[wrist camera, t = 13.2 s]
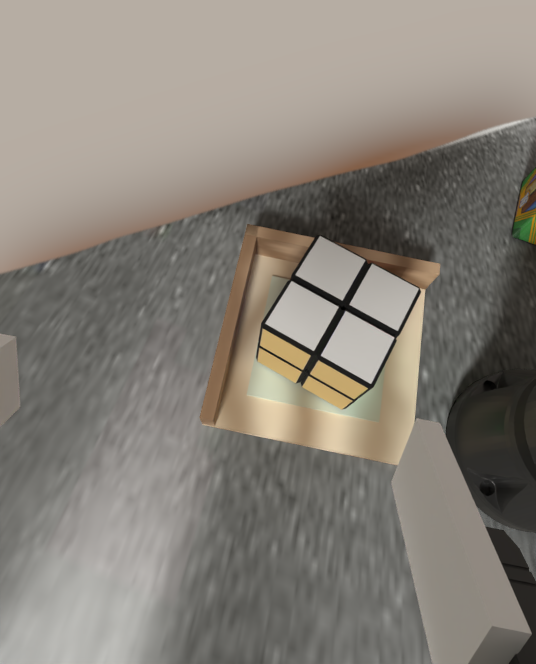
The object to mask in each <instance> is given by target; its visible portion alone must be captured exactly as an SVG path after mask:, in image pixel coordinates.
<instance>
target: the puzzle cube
mask: <svg viewBox="0 0 536 664" xmlns="http://www.w3.org/2000/svg"><path fill="white" fill-rule="evenodd" d="M420 294H421V290H420V288H419V287H418V286H416V285H414V284H412V283H410V282H408V281H406V280H405V279H403V278H401V277H399V276H397V275H395V274H393V273H391V272H390V271H388V270H386V269H384V268H382V267H380V266H378V265H376V264H374V263H369V264H368V262H367V260H366V259H365V258H364V257H362V256H360V255H358V254H356V253H354V252H352V251H350V250H349V249H347V248H345V247H343V246H341V245H339V244H337V243H335V242H333V241H332V240H330V239H328V238H326V237H324V236H322V235H318V236H316V237H315V238H314V240H313V242H312V243H311V245H310V246H309V248H308V249H307V251H306V253H305V254H304V256H303V257H302V259H301V261H300V262H299V264H298V265H297V267H296V269H295V270H294V272H293V273H292V275H291V279H290V280H289V281H287V283H286V284H285V286H284V288H283V289H282V291H281V292H280V294H279V296H278V297H277V299H276V300H275V302H274V304H273V305H272V307H271V308H270V310H269V311H268V313H267V315H266V316H265V318H264V319H263V321H262V323H261V327H260V334H259V340H258V341H259V342H258V346H257V353H256V359H257V362H259V363H261V364H263V365H264V366H266V367H268V368H270V369H271V370H273V371H275V372H277V373H278V374H280V375H282V376H284V377H285V378H287V379H289V380H291V381H292V382H294V383H300V382H301V386H302V387H303V388H305V389H306V390H308V391H310V392H311V393H313V394H315V395H317V396H318V397H320V398H322V399H324V400H325V401H327V402H329V403H331V404H332V405H334V406H336V407H338V408H339V409H341V410H343V409H346V408H347V407H349V406H350V405H351V404H353V403H354V402H355V401H356V400H358V398H360V397H361V396H363V395H364V394H365V393H367V392H368V391H369V390H371V389H372V388H373V387H374V386H375V384H376V382H377V380H378V378H379V376H380V374H381V372H382V370H383V368H384V366H385V364H386V362H387V360H388V358H389V356H390V354H391V352H392V350H393V348H394V346H395V344H396V342H397V340H396V338H397V337H398V336H399V335H400V334H401V332H402V330H403V328H404V326H405V324H406V322H407V320H408V318H409V316H410V314H411V312H412V310H413V308H414V306H415V304H416V302H417V300H418V298H419V296H420ZM306 371H307V372H306ZM305 373H306V374H305ZM304 375H305V376H304ZM301 380H302V381H301Z"/></svg>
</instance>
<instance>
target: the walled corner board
mask: <svg viewBox="0 0 536 664" xmlns="http://www.w3.org/2000/svg"><path fill="white" fill-rule="evenodd" d="M313 240H314V238H313V237H308V236H303V235H298V234H293V233H289V232H284V231H279V230H274V229H269V228H264V227H260V226H255V225H250V224H247V228H246V232H245V236H244V240H243V244H242V248H241V252H240V256H239V260H238V264H237V268H236V272H235V276H234V280H233V284H232V289H231V293H230V297H229V301H228V305H227V309H226V313H225V317H224V321H223V325H222V329H221V333H220V337H219V341H218V345H217V349H216V353H215V357H214V361H213V365H212V369H211V374H210V378H209V382H208V386H207V390H206V394H205V398H204V402H203V406H202V410H201V414H200V420H201V422H202V424H203V425H206V426H211V427H216V428H220V429H225V430H230V431H235V432H240V433H245V434H249V435H254V436H259V437H264V438H269V439H273V440H278V441H283V442H288V443H293V444H297V445H302V446H307V447H312V448H317V449H321V450H326V451H331V452H336V453H341V454H346V455H350V456H355V457H360V458H365V459H370V460H374V461H379V462H384V463H389V464H394V465H398V464H399V461H400V459H401V456H402V454H403V451H404V449H405V446H406V444H407V441H408V439H409V436H410V434H411V431H412V428H413V426H414V421H415V408H416V396H417V384H418V372H419V359H420V347H421V335H422V323H423V310H424V298H425V289H426V288H427V287H428V286H429V285H430V284H431V283H432V282H433V281H434V279H435V278H436V277H437V276H438V275H439V272H440V264H438V263H433V262H428V261H424V260H419V259H414V258H409V257H404V256H399V255H395V254H390V253H385V252H380V251H375V250H371V249H366V248H361V247H356V246H351V245H346V244H342V243H337V242H335V243H337V244H339V245H341V246H343V247H345V248H347V249H349V250H350V251H352V252H354V253H356V254H358V255H360V256H362V257H364V258H365V259H366V260H367V262H368V264H369V263H374V264H376V265H378V266H380V267H382V268H384V269H386V270H388V271H390V272H391V273H393V274H395V275H397V276H399V277H401V278H403V279H405V280H406V281H408V282H410V283H412V284H414V285H416V286H418V287H419V288H420V290H421V294H420V296H419V298H418V300H417V302H416V304H415V306H414V308H413V310H412V312H411V314H410V316H409V318H408V320H407V322H406V324H405V326H404V328H403V330H402V332H401V334H400V335H399V336H398V337H397V338H396V340H397V342H396V344H395V346H394V348H393V350H392V352H391V354H390V356H389V358H388V360H387V362H386V364H385V366H384V368H383V370H382V372H381V374H380V376H379V378H378V380H377V382H376V384H375V386H374V387H373V388H372V389H371V390H369V391H368V392H367V393H365V394H364V395H363V396H361V397H360V398H358V400H356V401H355V402H354V403H353V404H351V405H350V406H349V407H347V408H346V409H343V410H341V409H339V408H338V407H336V406H334V405H332V404H331V403H329V402H327V401H325V400H324V399H322V398H320V397H318V396H317V395H315V394H313V393H311V392H310V391H308V390H306V389H305V388H303V387H302V386H301V382H300V383H294V382H292V381H291V380H289V379H287V378H285V377H284V376H282V375H280V374H278V373H277V372H275V371H273V370H271V369H270V368H268V367H266V366H264V365H263V364H261V363H259V362H257V359H256V353H257V346H258V342H259V341H258V340H259V334H260V327H261V323H262V321H263V319H264V318H265V316H266V315H267V313H268V311H269V310H270V308H271V307H272V305H273V304H274V302H275V300H276V299H277V297H278V296H279V294H280V292H281V291H282V289H283V288H284V286H285V284H286V283H287V281H289V280H290V279H291V275H292V273H293V272H294V270H295V269H296V267H297V265H298V264H299V262H300V261H301V259H302V257H303V256H304V254H305V253H306V251H307V249H308V248H309V246H310V245H311V243H312V242H313ZM306 372H307V371H306ZM305 374H306V373H305ZM304 376H305V375H304ZM301 381H302V380H301Z"/></svg>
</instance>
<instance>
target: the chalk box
mask: <svg viewBox="0 0 536 664" xmlns="http://www.w3.org/2000/svg"><path fill="white" fill-rule="evenodd" d="M512 237H514V238H518V239H521V240H524V241H526V242H530V243H532V244H535V245H536V168H535V169H534V170H533V171H532V172H531V173H530V174H529V175H528V176H527V177H526V178H525V179H524V180H523V182H522V188H521V193H520V197H519V202H518V206H517V211H516V217H515V222H514V227H513V233H512Z"/></svg>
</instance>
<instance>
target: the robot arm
mask: <svg viewBox="0 0 536 664" xmlns="http://www.w3.org/2000/svg"><path fill="white" fill-rule="evenodd" d="M19 408H20V394H19V378H18V362H17V346H16V337H14V336H9V335H4V334H0V426H1V425H3V424H4V423H5V422H6V421H7V420H8V419H9V418H10V417H11V416H12V415H13V414H14V413H15V412H16V411H17V410H18V409H19ZM391 484H392V488H393V493H394V497H395V502H396V506H397V510H398V515H399V519H400V524H401V528H402V532H403V537H404V541H405V546H406V550H407V554H408V559H409V563H410V568H411V572H412V576H413V581H414V585H415V590H416V594H417V598H418V603H419V607H420V611H421V616H422V620H423V625H424V629H425V633H426V638H427V642H428V647H429V651H430V655H431V660H432V664H536V581H535V579H534V577H533V575H532V573H531V572H529V567H528V565H527V563H526V561H525V559H524V557H523V555H522V553H521V551H520V549H519V548H518V547H517V545H516V544H515V543H514V542H513V541H512V540H511V538H510V537H509V536H508V535H507V534H506V533H505V532H504V530H499V529H494V528H489V527H485V525H484V523H483V521H482V518H481V516H480V514H479V511H478V509H477V507H478V508H479V509H480V510H482V511H483V512H484V513H485V514H487V515H488V516H489V517H491V518H492V519H494V520H496V521H497V522H499V523H501V524H503V525H505V526H508V527H510V528H513V529H517V530H521V531H526V532H534V533H536V370H530V369H510V370H504V371H500V372H496V373H493V374H491V375H489V376H487V377H484V378H482V379H480V380H478V381H476V382H475V383H473V384H471V385H470V386H469V387H468V388H466V389H465V390H464V391H463V392H462V394H461V395H460V396H459V397H458V399H457V400H456V402H455V404H454V405H453V407H452V410H451V412H450V415H449V419H448V423H447V431H446V436H445V434H444V431H443V429H442V427H441V424H440V423H437V422H432V421H427V420H423V419H418V418H416V421H415V423H414V426H413V428H412V431H411V434H410V436H409V439H408V441H407V444H406V446H405V449H404V451H403V454H402V456H401V459H400V461H399V464H398V466H397V469H396V471H395V474H394V476H393V479H392V482H391ZM476 506H477V507H476Z"/></svg>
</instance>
